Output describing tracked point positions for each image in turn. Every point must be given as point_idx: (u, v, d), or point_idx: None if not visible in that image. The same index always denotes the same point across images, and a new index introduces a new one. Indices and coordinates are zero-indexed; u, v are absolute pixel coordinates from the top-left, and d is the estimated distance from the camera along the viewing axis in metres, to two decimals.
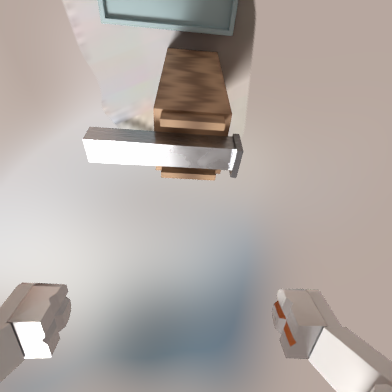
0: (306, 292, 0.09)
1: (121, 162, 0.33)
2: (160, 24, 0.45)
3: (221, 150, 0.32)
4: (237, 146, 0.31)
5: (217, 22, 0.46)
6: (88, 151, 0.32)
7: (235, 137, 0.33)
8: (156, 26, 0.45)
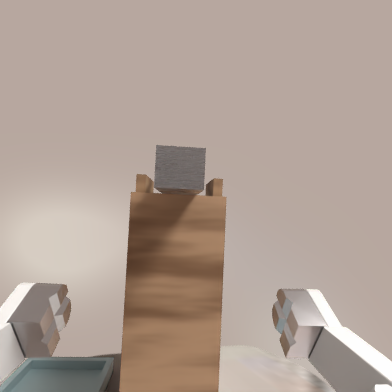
0: (306, 291, 0.09)
1: None
2: None
3: None
4: None
5: (95, 380, 0.33)
6: (182, 147, 0.18)
7: None
8: None
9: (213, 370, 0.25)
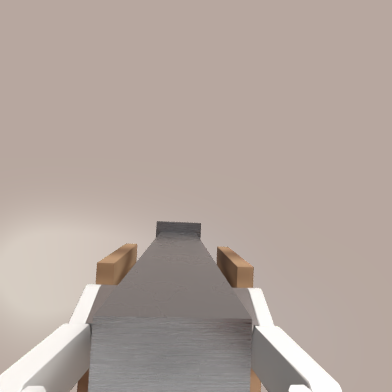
0: (246, 290, 0.09)
1: (216, 270, 0.10)
2: None
3: (162, 233, 0.23)
4: (156, 230, 0.25)
5: None
6: (180, 311, 0.06)
7: None
8: None
9: None
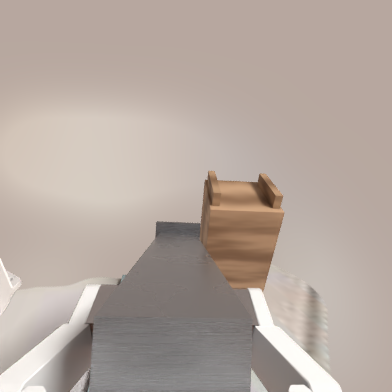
0: (247, 290, 0.09)
1: (215, 270, 0.10)
2: None
3: (162, 234, 0.23)
4: (156, 230, 0.25)
5: None
6: (180, 311, 0.06)
7: None
8: None
9: None
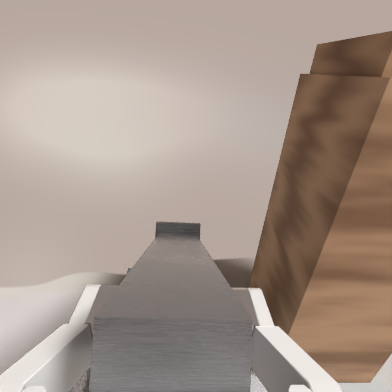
0: (246, 290, 0.09)
1: (215, 270, 0.10)
2: None
3: (162, 234, 0.23)
4: None
5: None
6: (180, 312, 0.06)
7: None
8: None
9: None
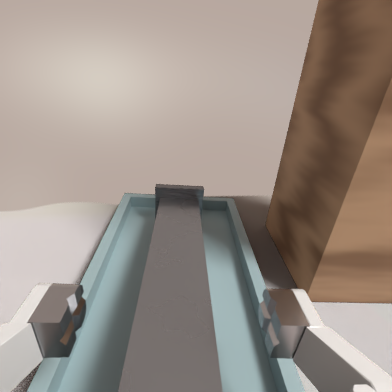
0: (291, 291, 0.09)
1: (214, 360, 0.09)
2: (258, 294, 0.16)
3: (161, 206, 0.21)
4: (155, 195, 0.23)
5: (220, 221, 0.26)
6: None
7: (155, 216, 0.24)
8: None
9: None
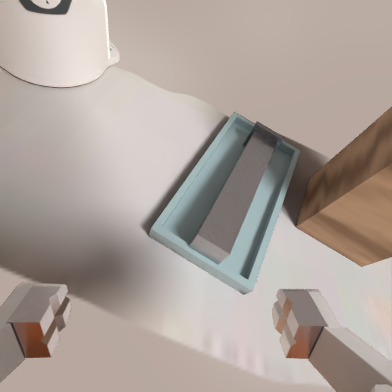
0: (306, 292, 0.09)
1: (242, 219, 0.25)
2: (274, 210, 0.31)
3: (253, 138, 0.34)
4: None
5: (282, 161, 0.38)
6: (216, 242, 0.23)
7: None
8: (275, 215, 0.30)
9: None
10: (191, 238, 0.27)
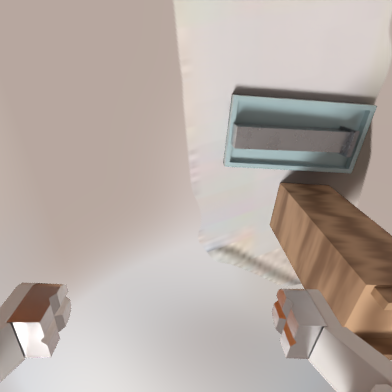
0: (306, 291, 0.09)
1: (260, 148, 0.40)
2: (282, 165, 0.45)
3: (339, 133, 0.41)
4: (352, 129, 0.40)
5: (335, 162, 0.46)
6: (238, 138, 0.39)
7: (344, 127, 0.42)
8: (279, 167, 0.45)
9: (283, 246, 0.46)
10: (241, 121, 0.42)
